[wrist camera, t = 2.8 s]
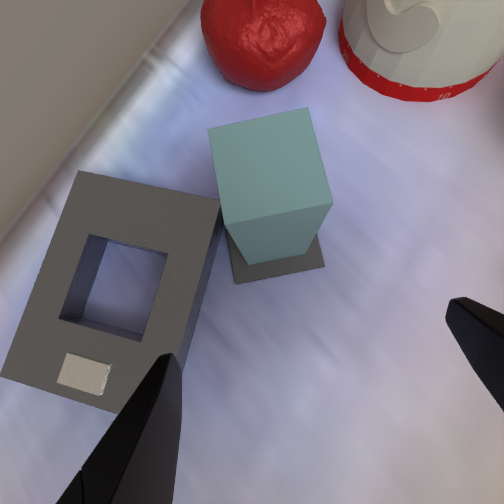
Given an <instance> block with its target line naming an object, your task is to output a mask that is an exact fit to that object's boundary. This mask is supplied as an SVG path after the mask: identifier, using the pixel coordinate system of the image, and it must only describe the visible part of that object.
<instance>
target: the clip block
mask: <svg viewBox="0 0 504 504" xmlns="http://www.w3.org/2000/svg"><path fill="white" fill-rule="evenodd" d="M208 135H209V140H210V146H211V151H212V157H213V163H214V168H215V174H216V179H217V185H218V191H219V196H220V202H221V208H222V213H223V219H224V224H225V226H226V228H227V230H228V232H229V233H230V235H231V237H232V238H233V240H234V242H235V243H236V245H237V247H238V248H239V250H240V252H241V253H242V255H243V257H244V259H245V260H246V262H247V264H248V265H252V264H257V263H262V262H267V261H272V260H277V259H282V258H287V257H292V256H297V255H302V254H305V253H306V251H307V249H308V248H309V246H310V244H311V242H312V240H313V238H314V237H315V235H316V233H317V231H318V229H319V227H320V226H321V224H322V222H323V220H324V218H325V216H326V215H327V213H328V211H329V209H330V207H331V205H332V204H333V200H332V196H331V192H330V189H329V185H328V181H327V177H326V174H325V170H324V166H323V162H322V159H321V155H320V151H319V147H318V144H317V140H316V136H315V132H314V129H313V125H312V121H311V117H310V113H309V110H308V107H306V108H302V109H297V110H293V111H288V112H284V113H279V114H275V115H270V116H265V117H261V118H256V119H252V120H247V121H243V122H238V123H234V124H229V125H225V126H220V127H216V128H211V129H208Z"/></svg>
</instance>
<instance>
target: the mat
mask: <svg viewBox="0 0 504 504" xmlns="http://www.w3.org/2000/svg"><path fill="white" fill-rule="evenodd" d="M225 227H226V226H225ZM226 233H227V238H228V244H229V249H230V255H231V261H232V266H233V272H234V277H235V283H236V284H241V283H246V282H251V281H256V280H261V279H266V278H271V277H276V276H281V275H286V274H291V273H296V272H301V271H306V270H311V269H316V268H321V267H325V265H324V261H323V257H322V253H321V249H320V245H319V241H318V237H317V233H316V235H315V237H314V238H313V240H312V242H311V244H310V246H309V248H308V249H307V251H306V253H305V254H302V255H297V256H292V257H287V258H282V259H277V260H272V261H267V262H262V263H257V264H252V265H248V264H247V262H246V260H245V259H244V257H243V255H242V253H241V252H240V250H239V248H238V247H237V245H236V243H235V242H234V240H233V238H232V237H231V235H230V233H229V232H228V230H227V228H226Z"/></svg>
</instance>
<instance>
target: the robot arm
mask: <svg viewBox="0 0 504 504" xmlns="http://www.w3.org/2000/svg"><path fill="white" fill-rule="evenodd" d="M445 319H446V323H447V325H448V327H449V328H450V330H451V332H452V334H453V335H454V337H455V339H456V341H457V342H458V344H459V346H460V348H461V349H462V351H463V353H464V354H465V356H466V358H467V360H468V361H469V363H470V365H471V366H472V368H473V369H474V371H475V372H476V374H477V375H478V377H479V378H480V379H481V381H482V382H483V384H484V385H485V386H486V388H487V389H488V391H489V392H490V393H491V395H492V396H493V397H494V399H495V400H496V402H497V403H498V404H499V406H500V407H501V409H502V410H503V411H504V314H502V313H500V312H497V311H495V310H493V309H491V308H489V307H487V306H485V305H482V304H480V303H478V302H476V301H474V300H472V299H469V298H467V297H459V298H454V299H451V300H450V301H449V305H448V308H447V312H446V316H445ZM181 420H182V370H181V367H180V365H179V363H178V361H177V359H176V357H175V355H174V354H173V353H166V354H162V355H160V356H159V357H158V358H157V359H156V361H155V362H154V364H153V365H152V367H151V368H150V370H149V371H148V372H147V374H146V375H145V377H144V378H143V380H142V381H141V382H140V384H139V385H138V387H137V388H136V390H135V391H134V393H133V394H132V395H131V397H130V398H129V400H128V401H127V403H126V404H125V406H124V407H123V408H122V410H121V411H120V413H119V414H118V416H117V417H116V418H115V420H114V421H113V423H112V424H111V426H110V427H109V429H108V430H107V431H106V433H105V434H104V436H103V437H102V439H101V440H100V441H99V443H98V444H97V446H96V447H95V449H94V450H93V452H92V453H91V454H90V456H89V457H88V459H87V460H86V462H85V463H84V464H83V466H82V468H81V470H80V471H79V472H78V473H77V474H76V476H75V477H74V479H73V480H72V482H71V483H70V484H69V486H68V487H67V489H66V490H65V491H64V493H63V494H62V496H61V497H60V498H59V500H58V501H57V503H56V504H172V501H173V492H174V484H175V475H176V466H177V458H178V449H179V440H180V432H181Z"/></svg>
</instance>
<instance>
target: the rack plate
mask: <svg viewBox="0 0 504 504" xmlns="http://www.w3.org/2000/svg"><path fill="white" fill-rule="evenodd" d="M223 224H224V219H223V213H222V208H221V202H220V200H216V199H211V198H206V197H202V196H197V195H192V194H188V193H183V192H178V191H174V190H169V189H164V188H160V187H155V186H150V185H145V184H141V183H136V182H131V181H127V180H122V179H117V178H113V177H108V176H103V175H99V174H94V173H89V172H85V171H80V170H78V172H77V175H76V177H75V180H74V183H73V185H72V188H71V190H70V193H69V196H68V198H67V201H66V203H65V206H64V209H63V211H62V214H61V217H60V219H59V222H58V224H57V227H56V230H55V232H54V235H53V237H52V240H51V243H50V245H49V248H48V250H47V253H46V256H45V258H44V261H43V263H42V266H41V269H40V271H39V274H38V277H37V279H36V282H35V284H34V287H33V290H32V292H31V295H30V297H29V300H28V303H27V305H26V308H25V310H24V313H23V316H22V318H21V321H20V323H19V326H18V329H17V331H16V334H15V337H14V339H13V342H12V344H11V347H10V350H9V352H8V355H7V357H6V360H5V363H4V365H3V368H2V370H1V373H0V376H1V377H4V378H7V379H10V380H13V381H16V382H19V383H22V384H25V385H29V386H32V387H35V388H38V389H41V390H44V391H47V392H50V393H53V394H56V395H60V396H63V397H66V398H69V399H72V400H75V401H78V402H81V403H84V404H87V405H91V406H94V407H97V408H100V409H103V410H106V411H109V412H112V413H115V414H119V413H120V411H121V410H122V408H123V407H124V406H125V404H126V403H127V401H128V400H129V398H130V397H131V395H132V394H133V393H134V391H135V390H136V388H137V387H138V385H139V384H140V382H141V381H142V380H143V378H144V377H145V375H146V374H147V372H148V371H149V370H150V368H151V367H152V365H153V364H154V362H155V361H156V359H157V358H158V357H159V356H160V355H162V354H166V353H173V354H174V355H175V357H176V359H177V361H178V363H179V365H180V367H181V370H182V372H183V368H184V364H185V361H186V357H187V354H188V350H189V347H190V343H191V339H192V336H193V332H194V329H195V325H196V321H197V318H198V314H199V311H200V307H201V303H202V300H203V296H204V293H205V289H206V285H207V282H208V278H209V275H210V271H211V267H212V264H213V260H214V257H215V253H216V249H217V246H218V242H219V239H220V235H221V231H222V228H223ZM107 242H112V243H116V244H120V245H125V246H129V247H133V248H137V249H141V250H145V251H149V252H153V253H157V254H162V255H166V256H168V257H167V260H166V263H165V267H164V270H163V273H162V276H161V280H160V283H159V286H158V289H157V293H156V296H155V299H154V303H153V306H152V309H151V312H150V316H149V319H148V322H147V325H146V329H145V332H144V335H140V334H136V333H133V332H129V331H126V330H122V329H119V328H115V327H111V326H108V325H104V324H101V323H97V322H94V321H90V320H87V319H83V318H81V316H82V314H83V311H84V308H85V305H86V302H87V299H88V296H89V293H90V291H91V288H92V285H93V282H94V279H95V276H96V273H97V270H98V268H99V265H100V262H101V259H102V256H103V253H104V250H105V247H106V245H107Z"/></svg>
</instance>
